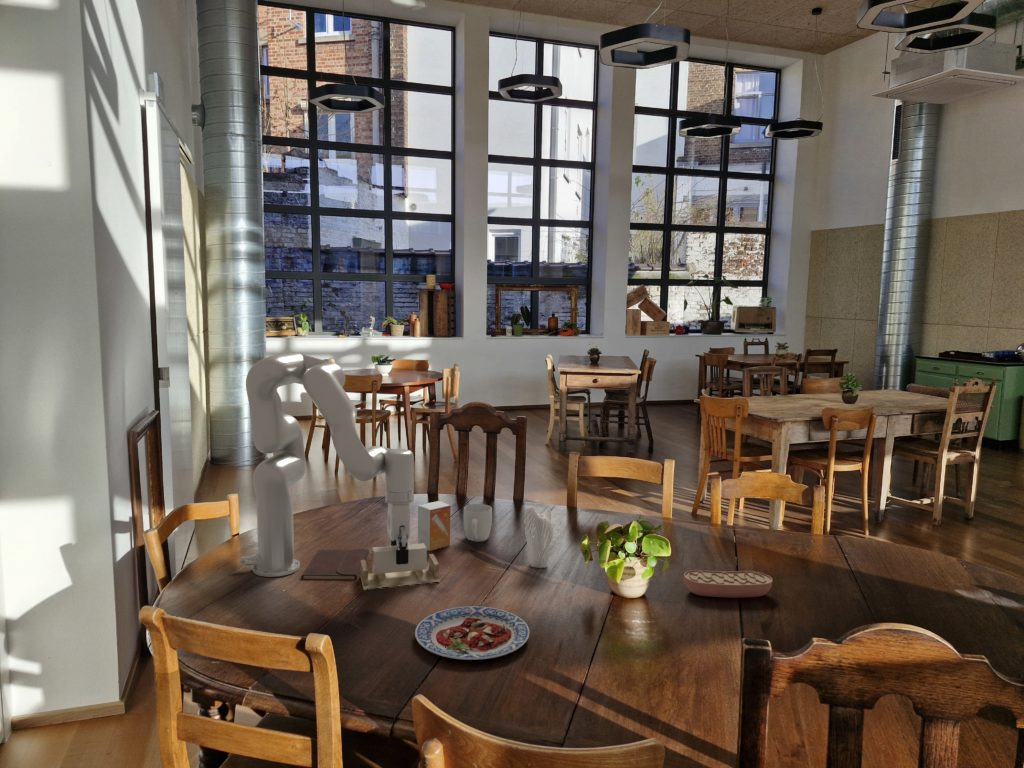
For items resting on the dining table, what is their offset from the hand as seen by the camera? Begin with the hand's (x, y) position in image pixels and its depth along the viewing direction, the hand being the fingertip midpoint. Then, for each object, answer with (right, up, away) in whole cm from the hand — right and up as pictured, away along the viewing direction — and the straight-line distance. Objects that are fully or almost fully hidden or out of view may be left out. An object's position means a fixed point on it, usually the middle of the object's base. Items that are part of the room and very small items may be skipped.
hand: (399, 557), depth 201 cm
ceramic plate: (+21, -11, -32) cm, 40 cm away
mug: (+19, -3, +34) cm, 39 cm away
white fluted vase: (+38, -6, +13) cm, 41 cm away
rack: (0, -6, +1) cm, 6 cm away
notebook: (-19, -5, +10) cm, 23 cm away
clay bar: (0, -3, 0) cm, 3 cm away
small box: (+6, -3, +28) cm, 29 cm away
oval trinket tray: (+87, -9, -5) cm, 88 cm away
